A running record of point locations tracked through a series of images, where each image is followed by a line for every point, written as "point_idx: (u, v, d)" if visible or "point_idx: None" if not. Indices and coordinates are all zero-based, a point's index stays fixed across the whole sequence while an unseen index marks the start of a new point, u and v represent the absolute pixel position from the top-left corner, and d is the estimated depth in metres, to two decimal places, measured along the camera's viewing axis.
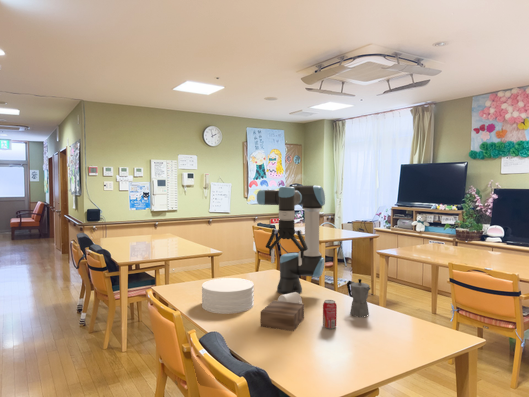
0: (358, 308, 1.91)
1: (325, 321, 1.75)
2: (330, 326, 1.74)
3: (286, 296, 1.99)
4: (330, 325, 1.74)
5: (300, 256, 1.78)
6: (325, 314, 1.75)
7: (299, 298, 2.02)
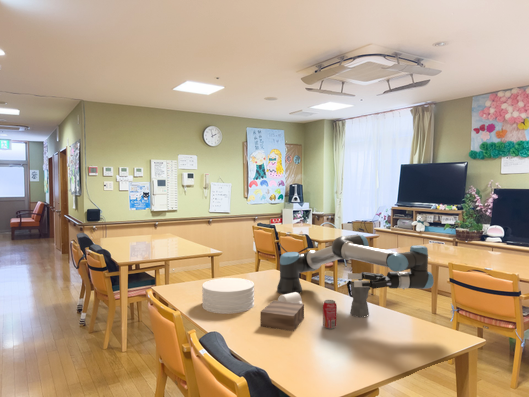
0: (358, 308, 1.91)
1: (325, 321, 1.75)
2: (330, 326, 1.74)
3: (286, 296, 1.99)
4: (330, 325, 1.74)
5: None
6: (325, 314, 1.75)
7: (299, 298, 2.02)
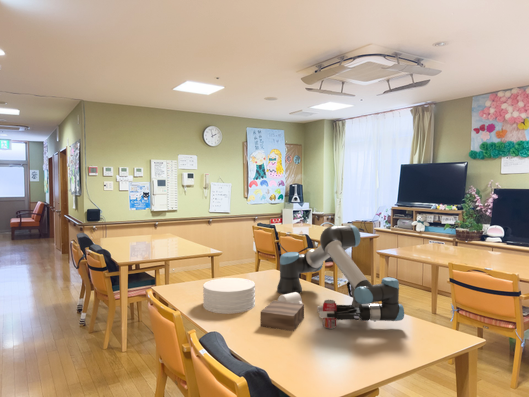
0: None
1: (325, 321, 1.75)
2: (330, 326, 1.74)
3: (286, 296, 1.99)
4: (330, 325, 1.74)
5: None
6: None
7: (299, 298, 2.02)
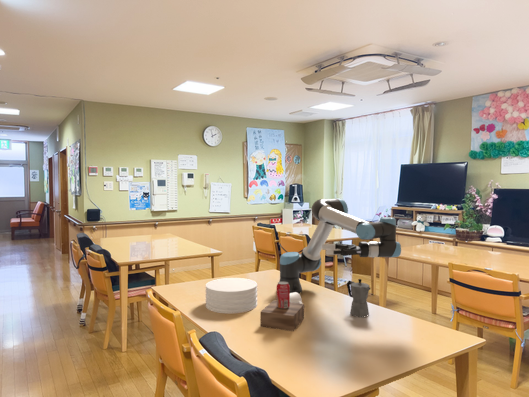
0: (358, 308, 1.91)
1: (278, 302, 1.81)
2: (283, 306, 1.80)
3: None
4: (283, 305, 1.80)
5: None
6: (278, 295, 1.81)
7: (299, 298, 2.02)
